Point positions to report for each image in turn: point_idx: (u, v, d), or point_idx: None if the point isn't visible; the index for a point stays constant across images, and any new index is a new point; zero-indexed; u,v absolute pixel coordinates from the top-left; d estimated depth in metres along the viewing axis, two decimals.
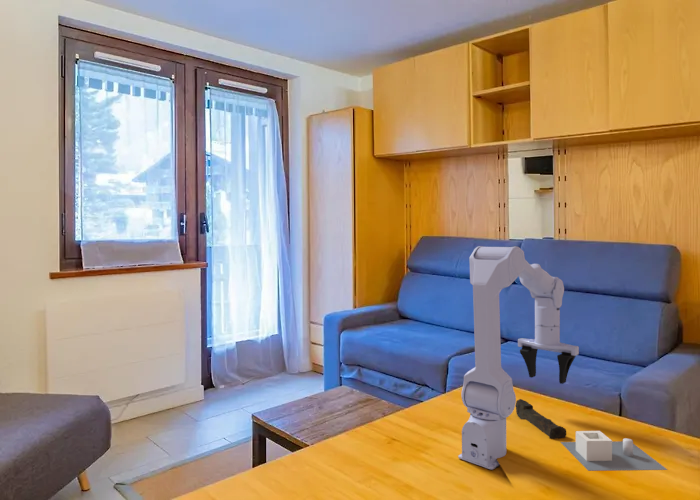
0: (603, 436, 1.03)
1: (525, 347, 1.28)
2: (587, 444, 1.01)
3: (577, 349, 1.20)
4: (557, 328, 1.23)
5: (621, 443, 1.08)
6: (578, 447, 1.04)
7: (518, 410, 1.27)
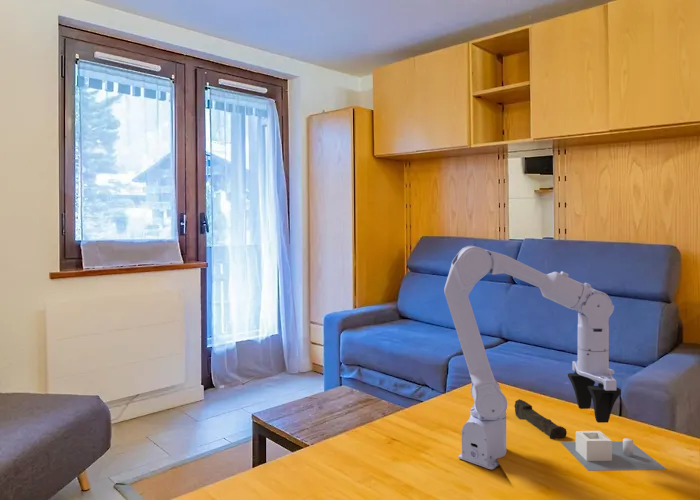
0: (603, 436, 1.03)
1: (577, 372, 1.08)
2: (587, 444, 1.01)
3: (612, 383, 0.96)
4: (597, 354, 1.00)
5: (621, 443, 1.08)
6: (578, 447, 1.04)
7: (517, 410, 1.27)
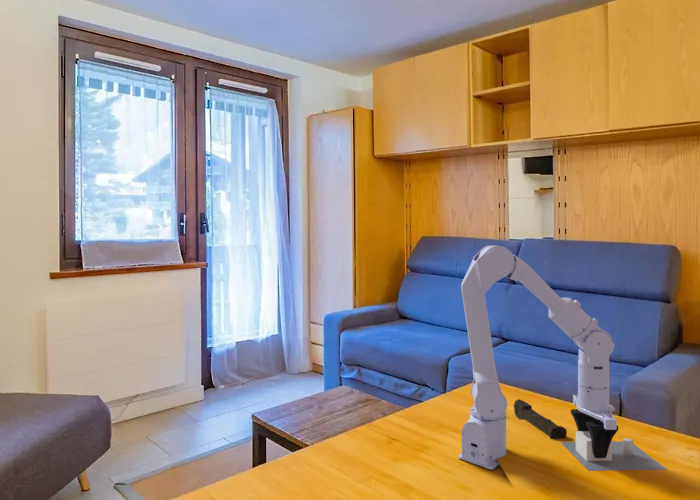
0: None
1: None
2: (587, 444, 1.01)
3: (612, 423, 0.96)
4: (597, 391, 1.00)
5: (621, 443, 1.08)
6: (578, 447, 1.04)
7: (517, 410, 1.27)
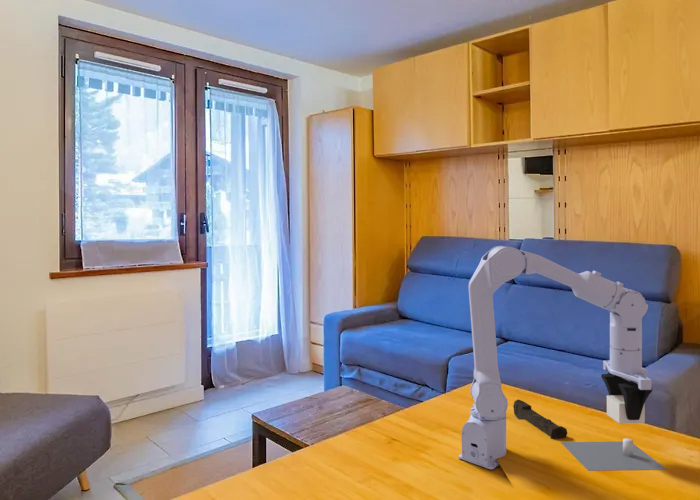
0: None
1: None
2: (620, 407, 1.00)
3: (647, 383, 0.95)
4: (630, 353, 1.00)
5: (621, 443, 1.08)
6: (610, 411, 1.04)
7: (516, 410, 1.27)
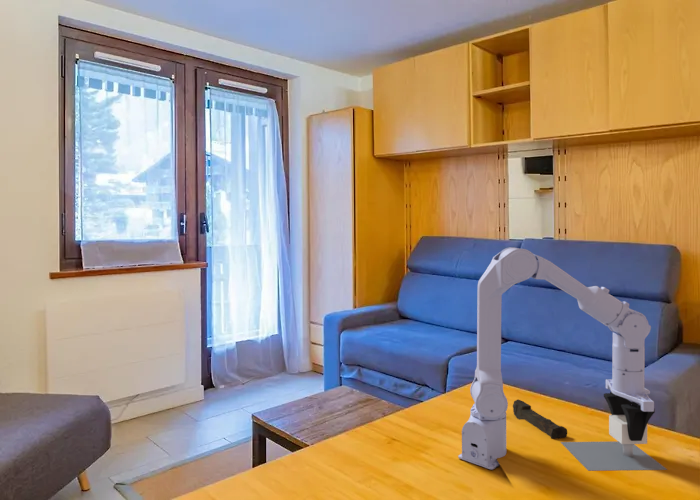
0: None
1: None
2: (622, 427, 1.00)
3: (650, 404, 0.95)
4: (633, 374, 1.00)
5: None
6: (612, 431, 1.04)
7: (516, 410, 1.27)
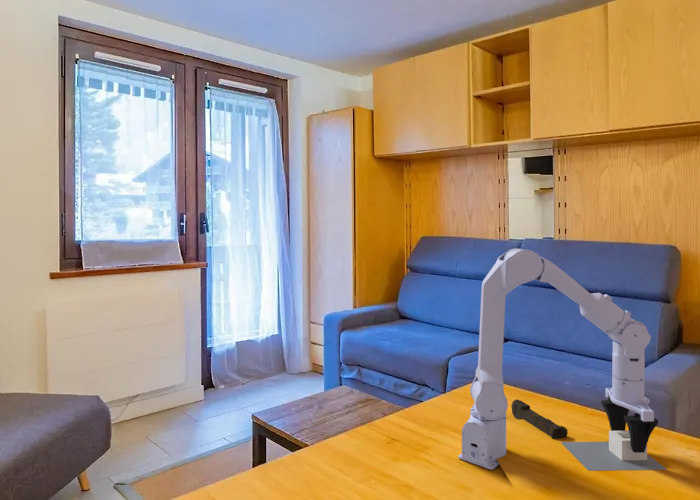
0: None
1: (610, 399, 1.08)
2: (622, 444, 1.00)
3: (649, 414, 0.95)
4: (633, 383, 1.00)
5: None
6: (612, 447, 1.04)
7: (515, 410, 1.27)
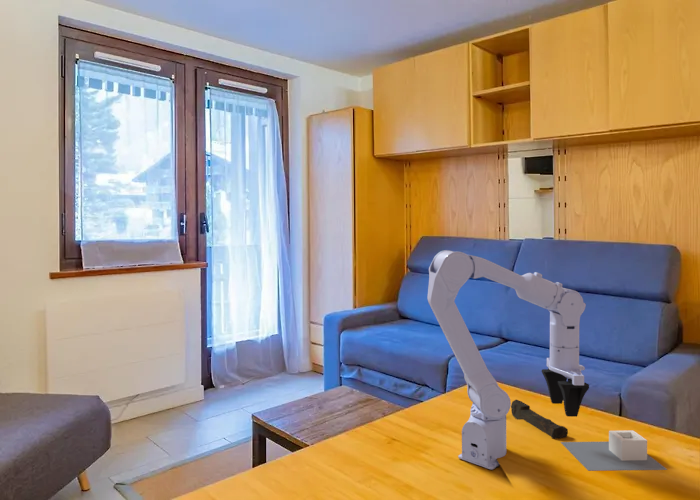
0: (637, 436, 1.03)
1: None
2: (622, 444, 1.00)
3: (580, 378, 0.99)
4: (567, 350, 1.04)
5: None
6: (612, 447, 1.04)
7: (514, 411, 1.27)
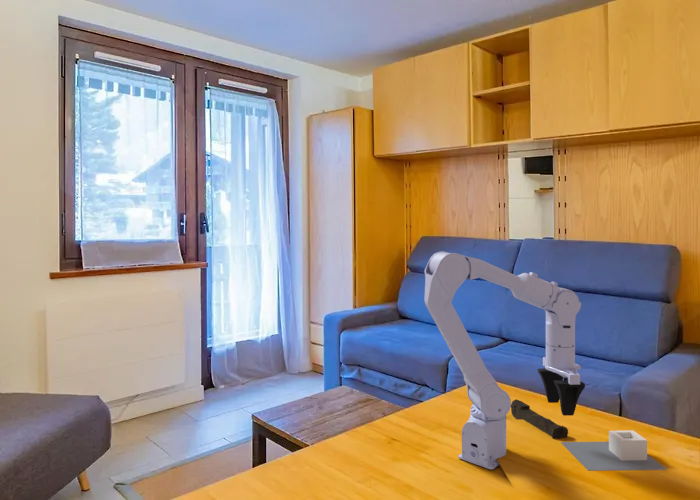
0: (637, 436, 1.03)
1: None
2: (622, 444, 1.00)
3: (576, 378, 1.00)
4: (563, 349, 1.04)
5: None
6: (612, 447, 1.04)
7: (514, 410, 1.27)
